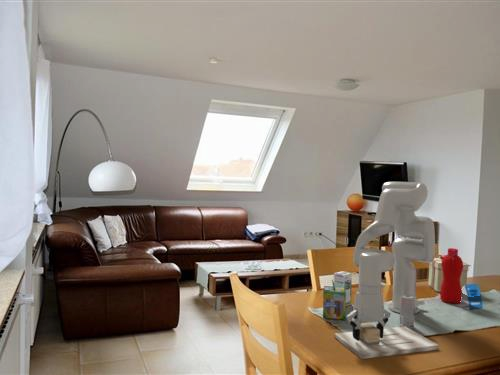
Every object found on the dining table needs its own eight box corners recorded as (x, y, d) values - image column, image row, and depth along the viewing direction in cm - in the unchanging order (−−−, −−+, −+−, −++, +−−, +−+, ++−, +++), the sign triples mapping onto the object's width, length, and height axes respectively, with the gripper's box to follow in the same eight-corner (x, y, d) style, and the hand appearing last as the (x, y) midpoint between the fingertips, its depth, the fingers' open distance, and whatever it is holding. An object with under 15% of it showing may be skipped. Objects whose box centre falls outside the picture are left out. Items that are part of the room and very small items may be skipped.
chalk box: (345, 320, 173) (346, 284, 172) (322, 318, 175) (323, 282, 174) (345, 313, 182) (346, 278, 181) (323, 311, 184) (324, 277, 183)
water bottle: (440, 303, 199) (442, 249, 198) (439, 297, 209) (441, 246, 208) (462, 306, 195) (465, 251, 194) (460, 299, 205) (462, 247, 204)
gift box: (474, 294, 215) (476, 260, 214) (438, 293, 215) (439, 259, 214) (458, 285, 232) (460, 253, 231) (424, 284, 232) (425, 252, 231)
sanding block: (356, 337, 152) (357, 323, 151) (368, 336, 153) (368, 322, 153) (367, 345, 145) (368, 331, 145) (379, 344, 146) (379, 329, 146)
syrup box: (343, 307, 190) (344, 275, 189) (332, 304, 194) (333, 272, 194) (351, 304, 194) (352, 273, 193) (340, 301, 198) (341, 270, 198)
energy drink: (413, 325, 169) (414, 295, 169) (414, 330, 164) (415, 299, 164) (399, 323, 171) (400, 293, 171) (399, 328, 166) (400, 297, 165)
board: (404, 330, 164) (405, 326, 164) (438, 349, 147) (438, 345, 147) (334, 337, 155) (334, 333, 155) (361, 358, 138) (361, 354, 138)
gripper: (384, 284, 154) (383, 331, 155) (341, 287, 149) (340, 336, 150) (397, 290, 147) (396, 339, 148) (353, 293, 142) (351, 344, 143)
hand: (368, 337), depth 149 cm, fingers open, 8 cm apart
